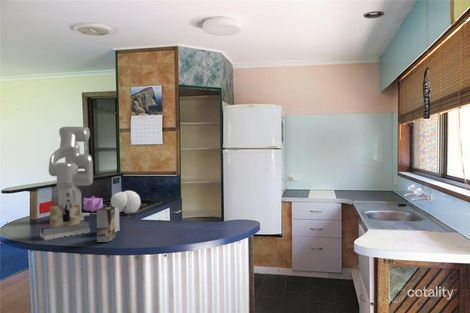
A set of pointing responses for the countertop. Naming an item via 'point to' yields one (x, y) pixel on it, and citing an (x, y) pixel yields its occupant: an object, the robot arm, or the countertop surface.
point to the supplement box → (117, 220)
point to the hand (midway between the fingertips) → (65, 220)
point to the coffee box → (105, 224)
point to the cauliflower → (126, 202)
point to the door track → (64, 230)
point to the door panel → (57, 216)
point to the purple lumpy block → (92, 204)
